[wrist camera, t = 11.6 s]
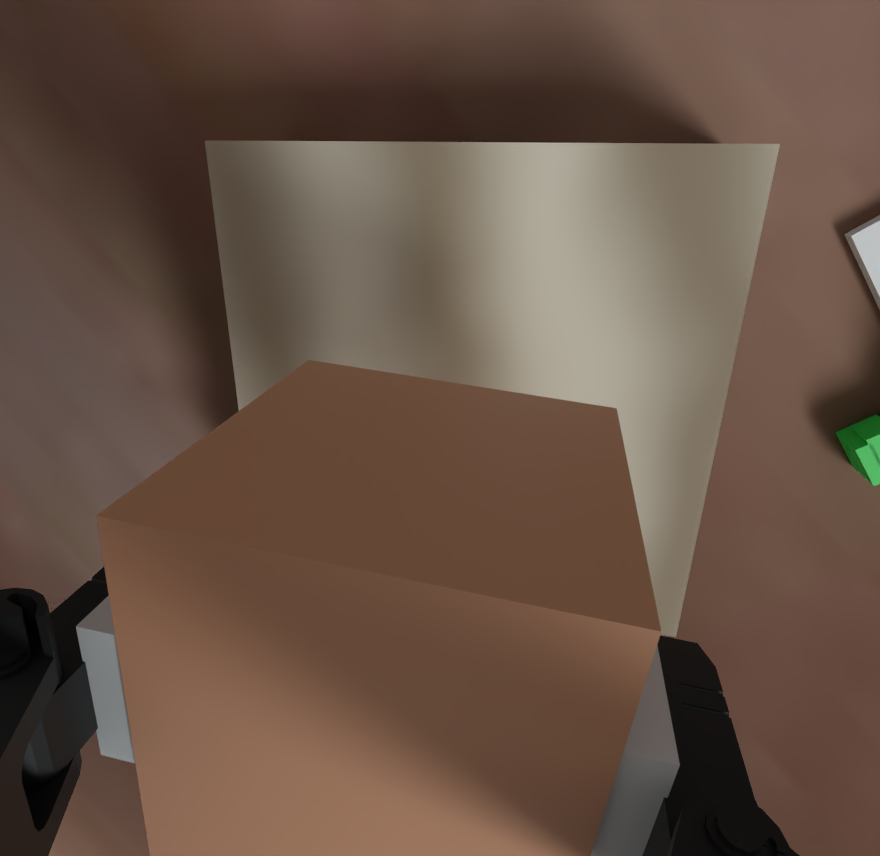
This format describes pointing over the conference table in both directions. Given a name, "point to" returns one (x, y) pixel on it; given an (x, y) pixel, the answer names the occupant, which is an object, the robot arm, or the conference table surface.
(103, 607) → the robot arm
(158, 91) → the conference table surface
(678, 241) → the birch block
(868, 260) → the building block set
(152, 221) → the conference table surface
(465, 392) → the terracotta block
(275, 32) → the conference table surface
